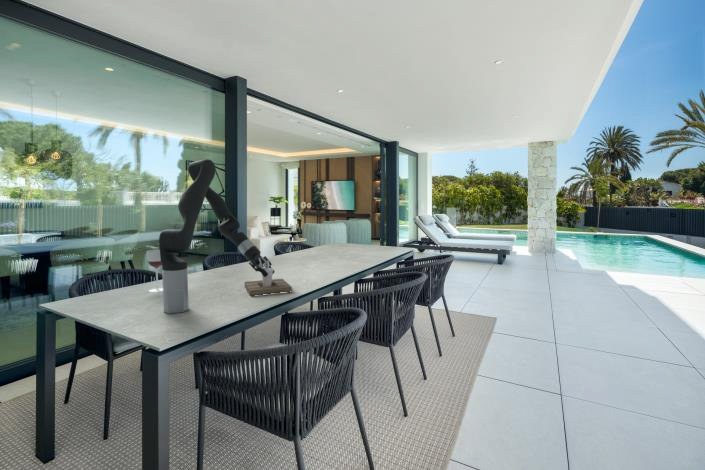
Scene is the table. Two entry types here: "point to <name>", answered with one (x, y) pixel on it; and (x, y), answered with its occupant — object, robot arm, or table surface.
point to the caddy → (267, 287)
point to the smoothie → (268, 278)
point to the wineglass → (154, 265)
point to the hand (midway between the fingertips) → (270, 274)
